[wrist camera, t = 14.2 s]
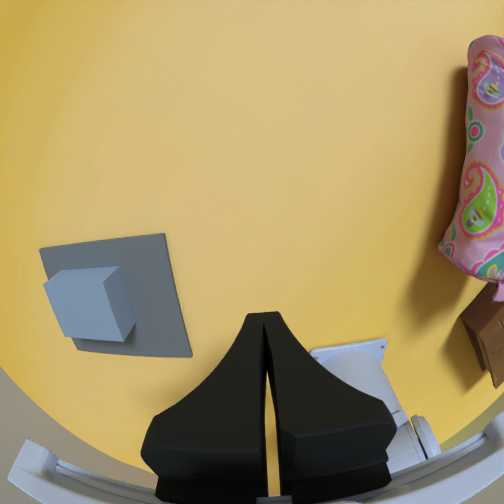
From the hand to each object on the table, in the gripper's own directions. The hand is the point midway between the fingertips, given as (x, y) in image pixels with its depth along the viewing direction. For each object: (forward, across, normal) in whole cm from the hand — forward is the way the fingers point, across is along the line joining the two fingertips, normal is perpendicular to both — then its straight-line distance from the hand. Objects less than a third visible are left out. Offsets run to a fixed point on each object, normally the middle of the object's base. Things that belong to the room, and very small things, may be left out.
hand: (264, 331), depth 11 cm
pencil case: (+10, -21, -8) cm, 25 cm away
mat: (+10, +14, +4) cm, 18 cm away
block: (+8, +12, +3) cm, 14 cm away
